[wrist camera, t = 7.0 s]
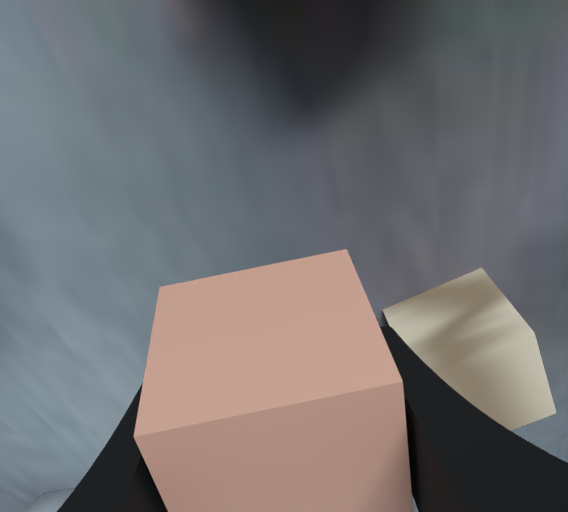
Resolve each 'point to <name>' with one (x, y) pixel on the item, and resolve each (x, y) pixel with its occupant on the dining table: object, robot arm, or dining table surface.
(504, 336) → the maple block
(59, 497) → the salt shaker
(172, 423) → the terracotta block
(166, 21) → the dining table surface
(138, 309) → the dining table surface
